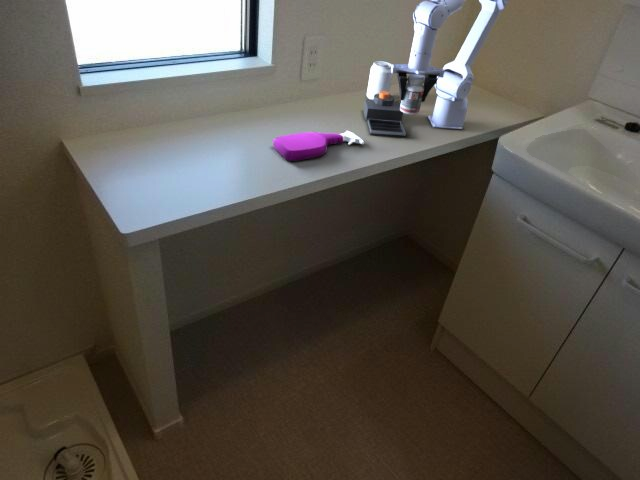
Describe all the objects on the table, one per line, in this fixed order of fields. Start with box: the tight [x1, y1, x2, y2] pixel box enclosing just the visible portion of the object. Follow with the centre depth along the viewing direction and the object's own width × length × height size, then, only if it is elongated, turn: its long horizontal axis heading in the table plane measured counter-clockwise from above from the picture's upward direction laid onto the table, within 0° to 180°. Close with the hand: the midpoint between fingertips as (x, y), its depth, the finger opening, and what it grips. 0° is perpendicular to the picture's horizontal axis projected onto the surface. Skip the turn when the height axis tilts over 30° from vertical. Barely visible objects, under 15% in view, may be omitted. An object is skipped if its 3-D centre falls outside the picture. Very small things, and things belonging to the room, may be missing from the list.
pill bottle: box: [400, 74, 425, 116], centre depth 138 cm, size 6×6×10 cm
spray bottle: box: [272, 130, 365, 162], centre depth 131 cm, size 3×11×24 cm
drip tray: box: [366, 119, 407, 138], centre depth 145 cm, size 10×9×1 cm
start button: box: [379, 91, 391, 99], centre depth 151 cm, size 3×3×2 cm
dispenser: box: [363, 93, 404, 122], centre depth 152 cm, size 11×9×6 cm
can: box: [366, 60, 393, 99], centre depth 162 cm, size 8×8×12 cm
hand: (411, 99), depth 139 cm, fingers closed on pill bottle, 5 cm apart
